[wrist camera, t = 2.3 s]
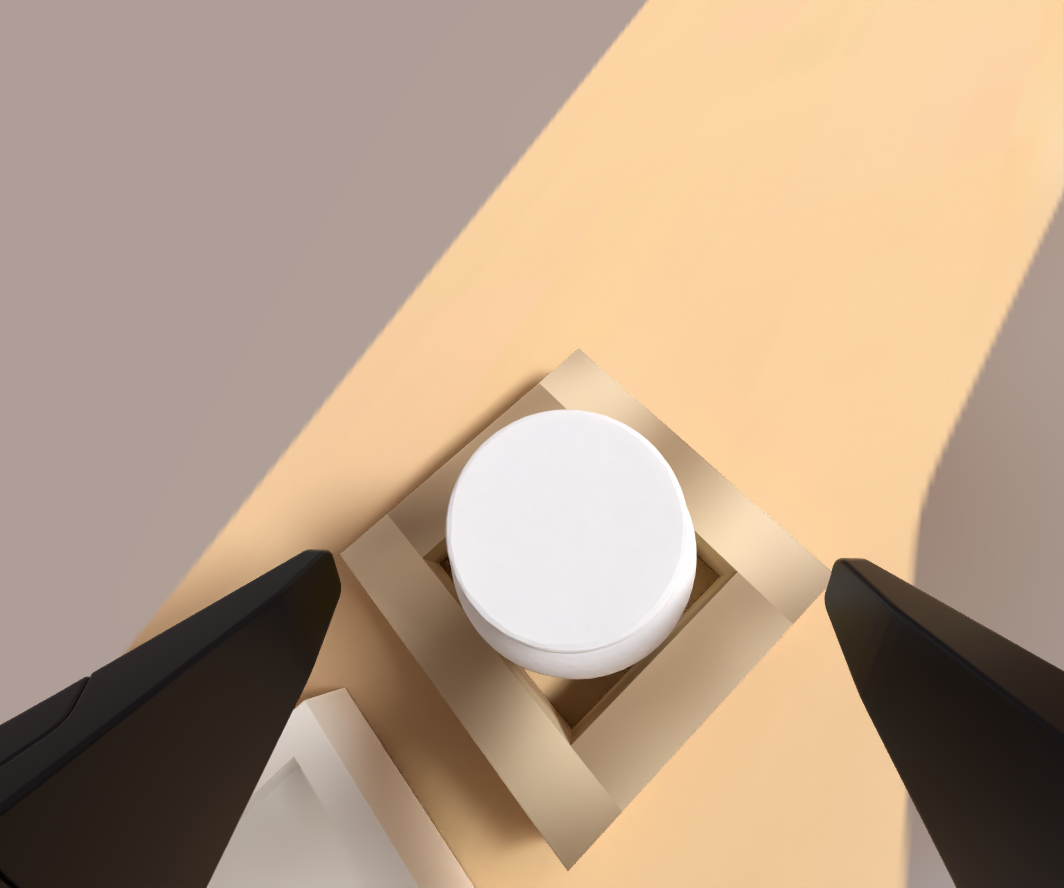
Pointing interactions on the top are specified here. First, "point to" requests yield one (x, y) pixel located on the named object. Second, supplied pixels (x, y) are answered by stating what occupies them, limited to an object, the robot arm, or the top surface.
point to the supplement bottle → (570, 544)
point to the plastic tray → (334, 813)
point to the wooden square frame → (652, 683)
